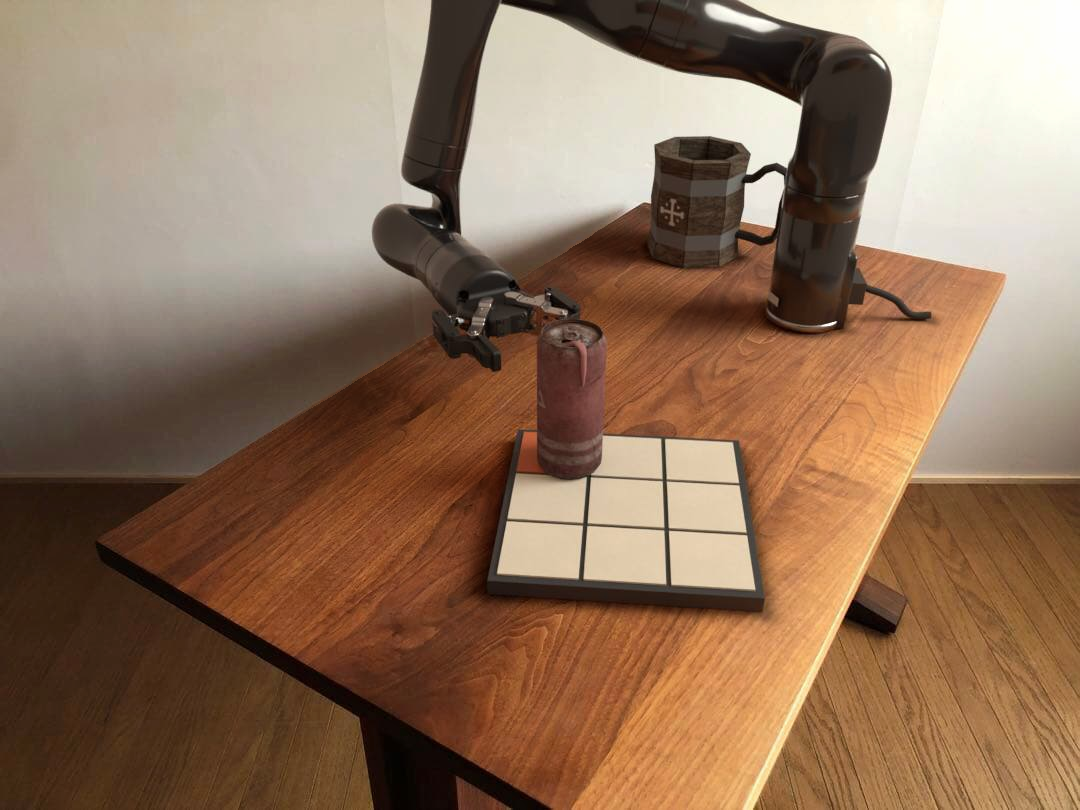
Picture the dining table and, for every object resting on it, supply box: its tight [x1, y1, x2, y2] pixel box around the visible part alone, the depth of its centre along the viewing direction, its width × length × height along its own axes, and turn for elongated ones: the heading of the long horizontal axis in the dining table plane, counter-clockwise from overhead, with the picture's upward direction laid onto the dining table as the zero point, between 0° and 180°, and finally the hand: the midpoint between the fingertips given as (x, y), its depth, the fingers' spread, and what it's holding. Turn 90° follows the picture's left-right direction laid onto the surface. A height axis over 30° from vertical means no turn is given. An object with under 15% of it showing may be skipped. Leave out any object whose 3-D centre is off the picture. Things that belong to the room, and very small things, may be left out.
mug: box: [646, 135, 787, 269], centre depth 130 cm, size 20×14×15 cm
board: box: [486, 428, 766, 613], centre depth 82 cm, size 22×22×2 cm
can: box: [536, 318, 608, 480], centre depth 83 cm, size 6×6×14 cm
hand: (539, 352), depth 85 cm, fingers open, 8 cm apart
